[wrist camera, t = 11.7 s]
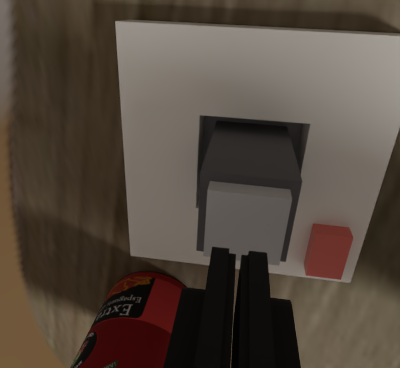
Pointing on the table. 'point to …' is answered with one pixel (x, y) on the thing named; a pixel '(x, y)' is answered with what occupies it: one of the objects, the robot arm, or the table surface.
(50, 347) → the table surface
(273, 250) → the plug
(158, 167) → the socket plate
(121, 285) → the canned food
